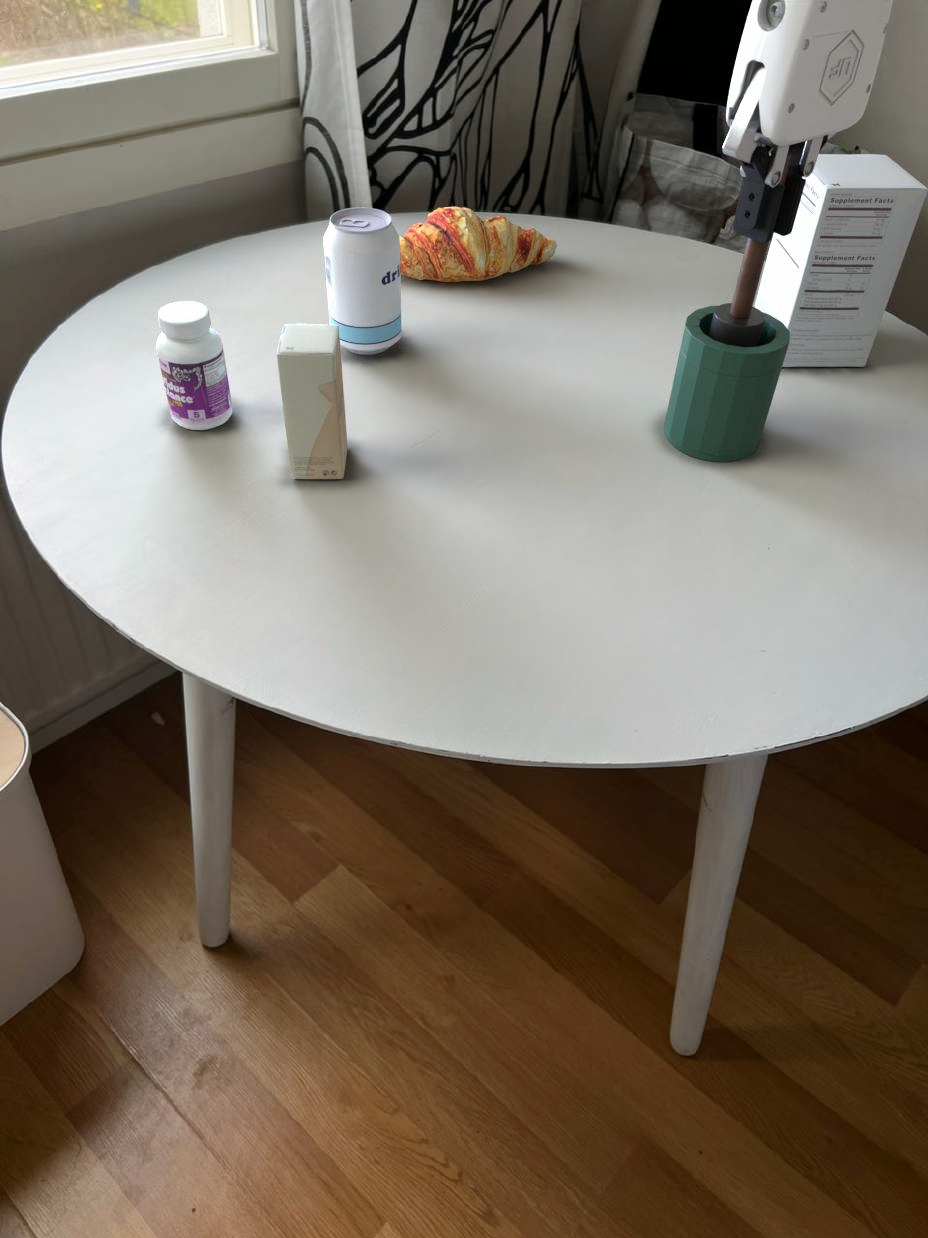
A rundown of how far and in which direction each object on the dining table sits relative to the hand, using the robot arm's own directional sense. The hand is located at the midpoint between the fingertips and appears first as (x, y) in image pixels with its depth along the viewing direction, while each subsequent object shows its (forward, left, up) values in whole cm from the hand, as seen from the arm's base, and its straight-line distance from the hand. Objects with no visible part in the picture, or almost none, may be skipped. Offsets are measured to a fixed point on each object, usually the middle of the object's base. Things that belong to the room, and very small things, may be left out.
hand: (761, 231), depth 68 cm
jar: (0, 0, -18) cm, 18 cm away
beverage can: (+29, -19, -18) cm, 39 cm away
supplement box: (-15, -15, -18) cm, 28 cm away
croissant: (+17, -35, -18) cm, 43 cm away
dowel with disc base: (0, 0, -11) cm, 11 cm away
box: (+34, +1, -18) cm, 38 cm away
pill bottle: (+44, -7, -18) cm, 48 cm away
